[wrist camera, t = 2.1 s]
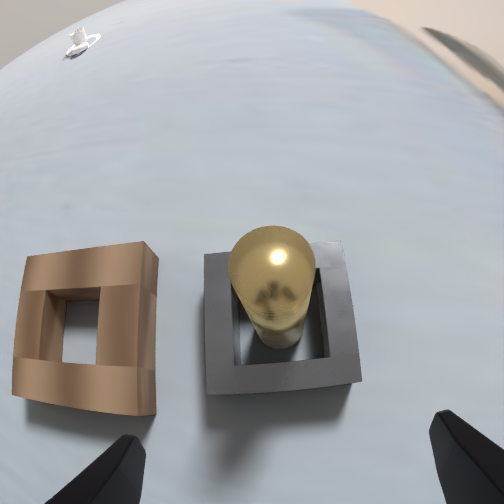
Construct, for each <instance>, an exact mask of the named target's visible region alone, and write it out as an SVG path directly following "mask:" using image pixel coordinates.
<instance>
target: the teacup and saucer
mask: <svg viewBox="0 0 504 504" xmlns="http://www.w3.org/2000/svg"><path fill="white" fill-rule="evenodd" d="M70 37H71V39H72V41H73V42H74V45H73V46H72V47H71V48H70V49H69V50H68V51H67V53H66V55H67V56H72V55H75V54H78V53H80V52H82V51H84V50H86V49H87V48H89V47H90V46H92V45H93V44H95V43H96V42H97V41H98V40H99V39H100V37H101V35H100V34H94V35H90V36H88V37H87V36H86V33H85V30H84V28H83V27H82V28H79V29H77V30H75V31H74V32H72V33H71V34H70ZM90 37H96V40H95V41H94V42H93V43H92V44H91V45H89V44H88V40H87V39H88V38H90ZM88 45H89V46H88ZM75 46H76V47H75ZM73 47H75V48H73ZM71 50H72V51H71Z"/></svg>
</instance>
